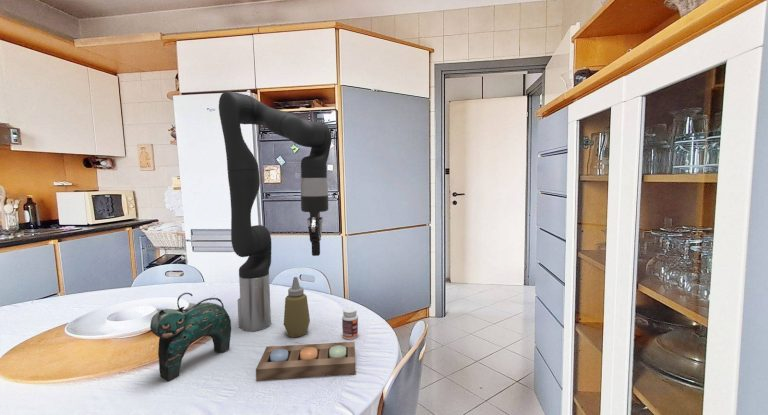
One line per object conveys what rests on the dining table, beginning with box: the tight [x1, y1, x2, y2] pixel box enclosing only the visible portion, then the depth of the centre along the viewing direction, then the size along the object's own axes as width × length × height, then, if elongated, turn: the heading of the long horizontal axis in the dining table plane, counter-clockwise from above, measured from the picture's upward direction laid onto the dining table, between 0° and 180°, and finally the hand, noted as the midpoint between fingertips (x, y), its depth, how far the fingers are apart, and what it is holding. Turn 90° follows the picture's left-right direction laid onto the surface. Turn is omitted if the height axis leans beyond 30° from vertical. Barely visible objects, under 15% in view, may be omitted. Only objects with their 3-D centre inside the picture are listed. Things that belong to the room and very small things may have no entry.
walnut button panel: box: [255, 341, 357, 382], centre depth 89 cm, size 24×11×3 cm, turn 96°
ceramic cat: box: [150, 292, 232, 382], centre depth 90 cm, size 20×6×20 cm, turn 151°
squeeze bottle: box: [283, 276, 311, 338], centre depth 107 cm, size 8×8×18 cm
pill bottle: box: [341, 307, 359, 340], centre depth 105 cm, size 5×5×8 cm
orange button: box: [300, 347, 318, 360], centre depth 89 cm, size 4×4×3 cm
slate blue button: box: [270, 349, 288, 362], centre depth 88 cm, size 4×4×3 cm
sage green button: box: [329, 345, 346, 358], centre depth 90 cm, size 4×4×3 cm
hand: (316, 255), depth 97 cm, fingers closed
